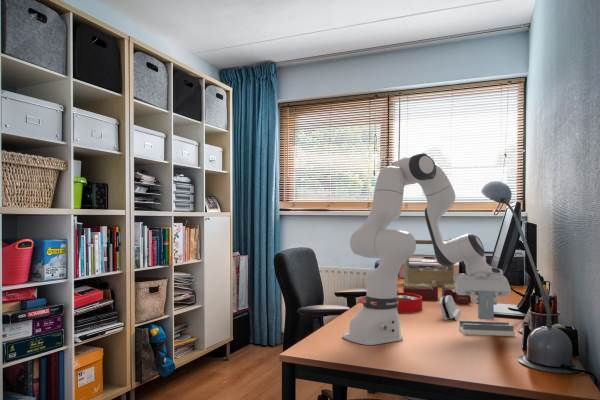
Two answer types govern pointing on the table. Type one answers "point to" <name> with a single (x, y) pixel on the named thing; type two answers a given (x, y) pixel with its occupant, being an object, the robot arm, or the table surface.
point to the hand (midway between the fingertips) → (486, 303)
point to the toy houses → (435, 292)
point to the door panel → (486, 305)
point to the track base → (486, 328)
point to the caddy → (428, 273)
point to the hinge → (449, 308)
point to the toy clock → (409, 302)
